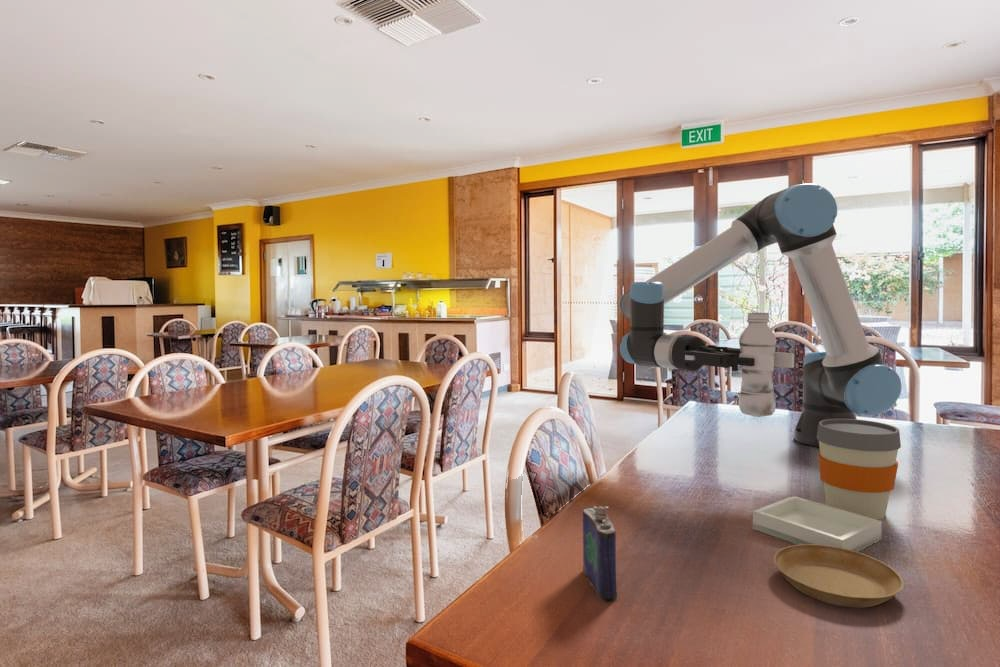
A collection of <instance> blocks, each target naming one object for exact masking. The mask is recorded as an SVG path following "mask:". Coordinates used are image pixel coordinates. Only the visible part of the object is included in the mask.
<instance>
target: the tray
mask: <svg viewBox="0 0 1000 667" xmlns="http://www.w3.org/2000/svg"><path fill="white" fill-rule="evenodd" d="M882 523H883V520H880V519H879V520H876V519H872V518H869V517H865V516H862V515H858V514H855V513H851V512H848V511H845V510H841V509H838V508H834V507H831V506H827V505H826V504H824V503H819V502H816V501H813V500H810V499H807V498H806V499H805V498H802V497H799V496H796V495H793V496H792V495H791V496H789V497H787V498H784V499H781V500H778V501H776V502H774V503H771V504H768V505H765V506H762V507H760V508H758V509H754V510H753V511H752V530H755V531H757V532H761V533H764V534H767V535H769V536H772V537H775V538H778V539H781V540H782V541H783V540H784V541H786V542H789V543H792V544H794V545H801V544H817V545H827V546H834V547H839V548H844V549H848V550H852V551H855V552H859V553H860V552H861V551H863V550H865V549H867V548H869V547H871V546H873V545H874V544H873V543H875V542H877V541H878V542H880V541H882V529H883V528H882V525H883V524H882ZM879 540H880V541H879ZM878 542H877V543H878ZM872 544H873V545H872ZM875 544H876V543H875ZM870 545H871V546H870ZM868 546H869V547H868ZM866 547H867V548H866Z"/></svg>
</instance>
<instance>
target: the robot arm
mask: <svg viewBox="0 0 1000 667" xmlns="http://www.w3.org/2000/svg"><path fill="white" fill-rule="evenodd" d="M837 216H838V204H837V202H836V199H835V197H834V196H833V194H832V193H831V192H830V191H829V190H828V189H826V187H824V186H822V185H819V184H816V183H801V184H799V183H797V184H794V185H791V186H788V187H787V188H785V189H782V190H780V191H777V192H774V193H772V194H769V195H768V196H765V197H764V198H763V199H762V200H760V201H759V202H757V203H756V204H755V205H753V207H751V208H750V209H748V210H747V211H746V212H744V213H743V214H741V215H740V216H738V217H737V218H736V219H733V220H732V222H731V227H729V228H728V229H726V230H724V231H722V232H721V233H720V234H718V235H717V236H715V237H713V238H712V239H710V240H709V241H707V242H705V243H704V244H702V245H700V246H699V247H698V248H695V250H693V251H692V252H690V253H688V254H686V255H685V256H682V258H680V259H679V260H677V261H676V262H673V263H672V264H671V265H669V266H667V267H666V268H664V269H663V270H662V271H660V272H657V273H656V274H655V275H653V276H652V277H650V278H649V279H647V280H645V281H635V282H634V281H633V282H632V283H631V284H630V289H629V290H627V291H626V292H624V293H623V294H622V295H621V297H620V298H619V302H618V309H619V311H620V313H621V314H622V315H623V316H624V317H625V318H626V319H628V320H630V330H629V332H627V333H626V334H625V335H623V337H622V339H621V343H620V344H619V353H620V356H621V357H622V359H623V360H624V361H625V362H627V363H629V364H632V365H637V366H643V367H652V368H660V369H661V368H663V369H668V370H667V371H668V372H673V370H680V371H686V372H697V371H699V370H700V369H702V367H703V366H709V367H716V368H724V369H728V368H730V367H731V372H738V370H739V369H742V368H747V369H756V370H766V371H773V372H774V370H775V367H778V368H779V367H780V368H788V369H789V368H790V369H794V367H795V353H793V352H783V351H782V352H780V351H775V354H774V356H767V355H756V354H744V353H741V352H740V347H739V348H738V347H736V348H735V347H728V346H717V345H715V344H707V345H705V342H704V340H703V339H702V338H700V337H699V336H694V335H682V334H667V333H666V334H665V333H664V331H665V330H664V328H665V327H664V322H665V319H664V318H665V316H664V315H665V314H664V313H665V305H667V304H668V303H669V302H671V301H673V300H674V299H676V298H677V297H679V296H680V295H682V294H684V293H685V292H687V291H689V290H690V289H692V288H693V287H695V286H697V285H698V284H700V283H701V282H703V281H705V280H706V279H708V278H710V277H711V276H713V275H714V274H716V273H717V272H719V271H721V270H723V269H724V268H726V267H728V266H729V265H731V264H732V263H734V262H735V261H737V260H738V259H740V258H742V257H743V256H745V255H746V254H748V253H749V254H756V253H758V252H759V251H761V250H762V249H764V248H766V247H769V246H771V245H774V244H777V245H778V247H779V251H780V253H781V255H784V256H786V257H788V258H790V259H791V262H792V264H793V267H794V270H795V272H796V273H795V274H796V275H797V278H798V280H799V284H800V286H801V288H802V292H803V294H804V296H805V299H806V302H807V306H808V307H809V310H810V313H811V316H812V319H813V321H814V324H815V327H816V330H817V332H818V334H819V338H820V340H821V342H822V346H823V348H824V350H825V351H815V352H814V351H813V352H812V351H811V352H808V353H806V354H805V355H804V357H803V365H802V370H803V371H802V373H803V374H802V375H803V376H802V409H801V410H802V411H801V413H800V416H799V418H798V421H797V423H796V426H795V428H794V433H793V434H794V435H793V437H794V438H793V439H794V440H795V441H796V442H798V443H801V444H803V445H806V444H807V446H811V447H816V448H820V447H819V440H817V432H818V425H819V422H820V421H822V420H827V419H857V416H856V414H860V415H866V416H877V415H880V414H884V413H886V412H887V411H889V410H890V409H892V408H893V407H894V406H895V404H896V403H897V401H898V399H899V398H900V397H901V393H902V387H903V386H902V380H901V377H900V375H899V374H898V372H896V370H894V369H893V368H892V367H890V366H889V365H886V364H885V363H884V360H883V357H882V354H881V352H880V350H879V347H878V346H875V345H873V344H870V343H869V342H868V339H867V337H866V334H865V332H864V328H863V326H862V323H861V321H860V318H859V314H858V312H857V309H856V307H855V304H854V302H853V299H852V295H851V293H850V290H849V287H848V284H847V282H846V279H845V277H844V274H843V272H842V268H841V266H840V263H839V260H838V258H837V255H836V252H835V249H834V247H833V242H834V240H835V238H836V237H837V231H836V228H835V226H834V223H835V220H836V218H837ZM857 420H858V419H857Z"/></svg>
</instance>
